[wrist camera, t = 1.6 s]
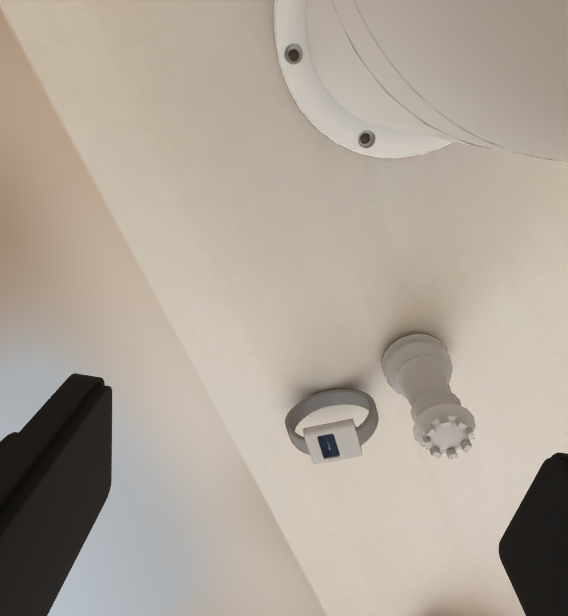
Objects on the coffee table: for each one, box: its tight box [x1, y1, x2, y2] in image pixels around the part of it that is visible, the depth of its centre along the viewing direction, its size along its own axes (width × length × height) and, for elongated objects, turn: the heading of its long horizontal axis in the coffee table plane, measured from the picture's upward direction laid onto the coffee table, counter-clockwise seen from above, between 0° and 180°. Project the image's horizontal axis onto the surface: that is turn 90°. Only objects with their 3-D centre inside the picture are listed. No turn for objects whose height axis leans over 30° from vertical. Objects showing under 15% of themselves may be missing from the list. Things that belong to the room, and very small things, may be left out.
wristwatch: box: [285, 389, 378, 464], centre depth 29 cm, size 6×3×5 cm, turn 106°
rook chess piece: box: [382, 334, 475, 459], centre depth 26 cm, size 4×4×8 cm
